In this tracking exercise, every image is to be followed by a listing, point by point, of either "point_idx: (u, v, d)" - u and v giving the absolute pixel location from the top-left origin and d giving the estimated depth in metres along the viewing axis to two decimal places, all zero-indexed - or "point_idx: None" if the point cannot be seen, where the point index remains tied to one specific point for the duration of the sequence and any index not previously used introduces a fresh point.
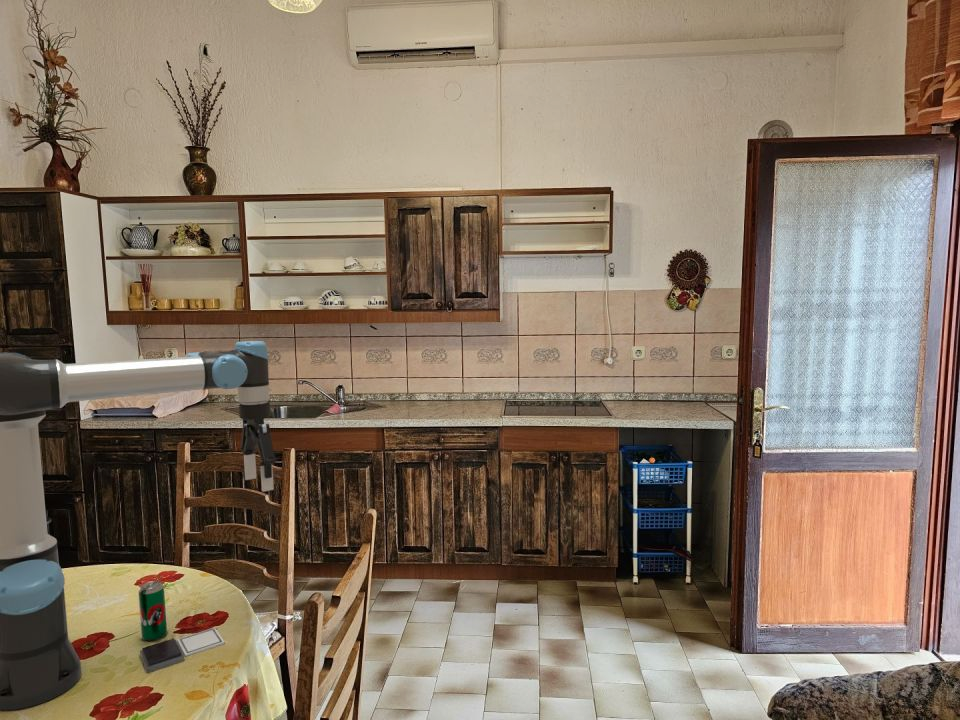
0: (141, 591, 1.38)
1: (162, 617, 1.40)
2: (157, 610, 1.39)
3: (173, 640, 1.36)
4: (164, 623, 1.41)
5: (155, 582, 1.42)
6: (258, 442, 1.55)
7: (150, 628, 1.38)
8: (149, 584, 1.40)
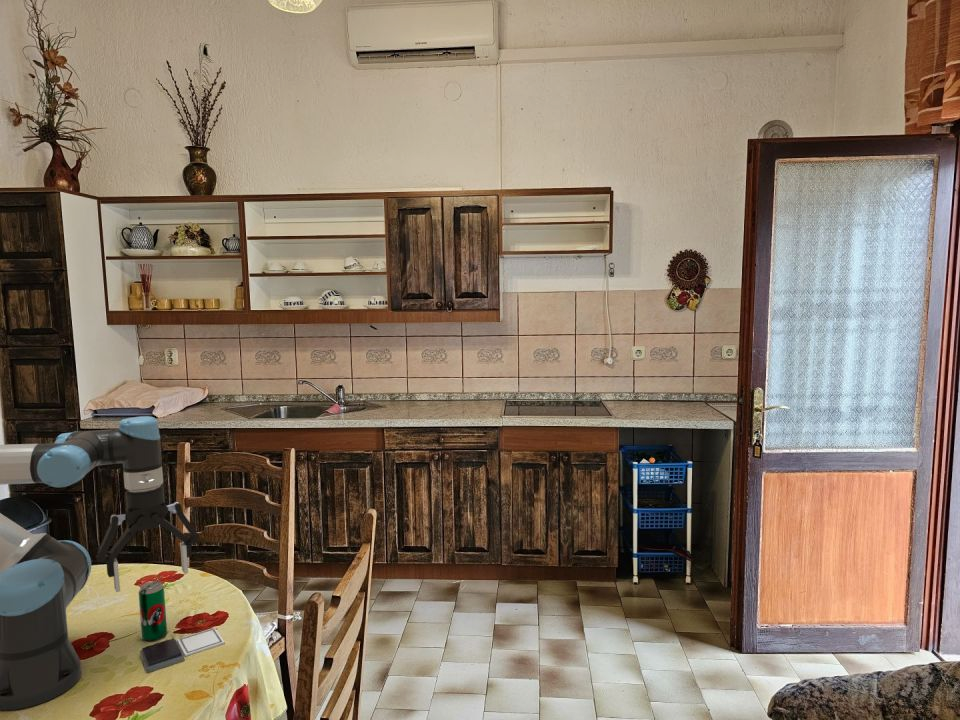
0: (141, 591, 1.38)
1: (161, 617, 1.40)
2: (157, 610, 1.39)
3: (173, 640, 1.36)
4: (164, 623, 1.41)
5: (155, 582, 1.42)
6: (123, 533, 1.37)
7: (150, 628, 1.38)
8: (149, 584, 1.40)
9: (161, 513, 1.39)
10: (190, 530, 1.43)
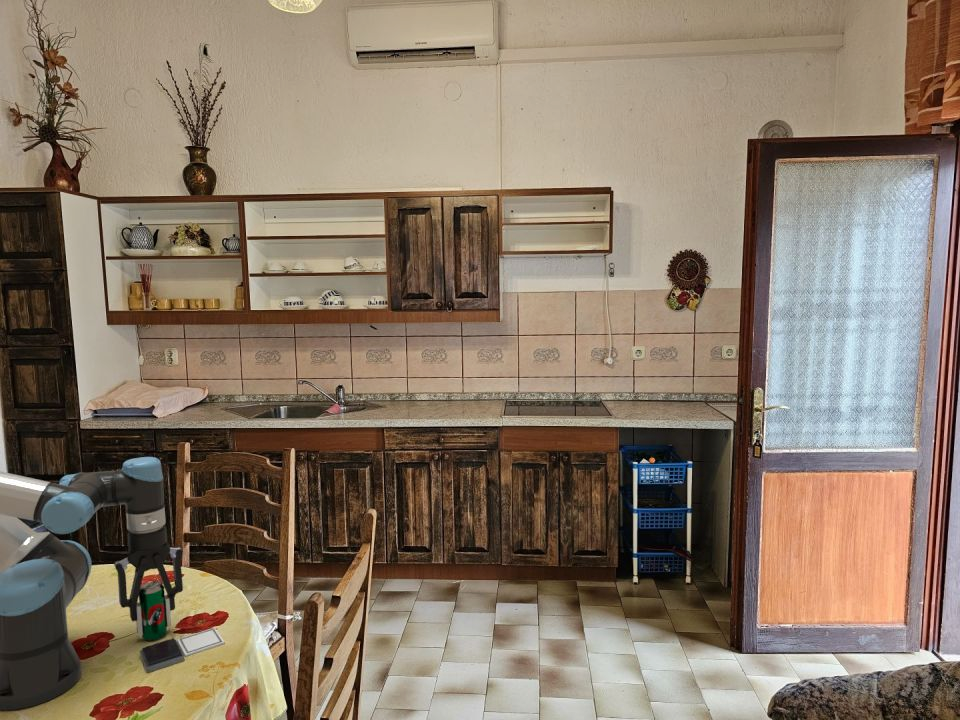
0: (141, 591, 1.38)
1: (162, 617, 1.40)
2: (157, 610, 1.39)
3: (173, 640, 1.36)
4: (164, 623, 1.41)
5: (155, 582, 1.42)
6: (134, 576, 1.39)
7: (150, 628, 1.38)
8: (149, 584, 1.40)
9: (162, 553, 1.40)
10: (178, 580, 1.42)
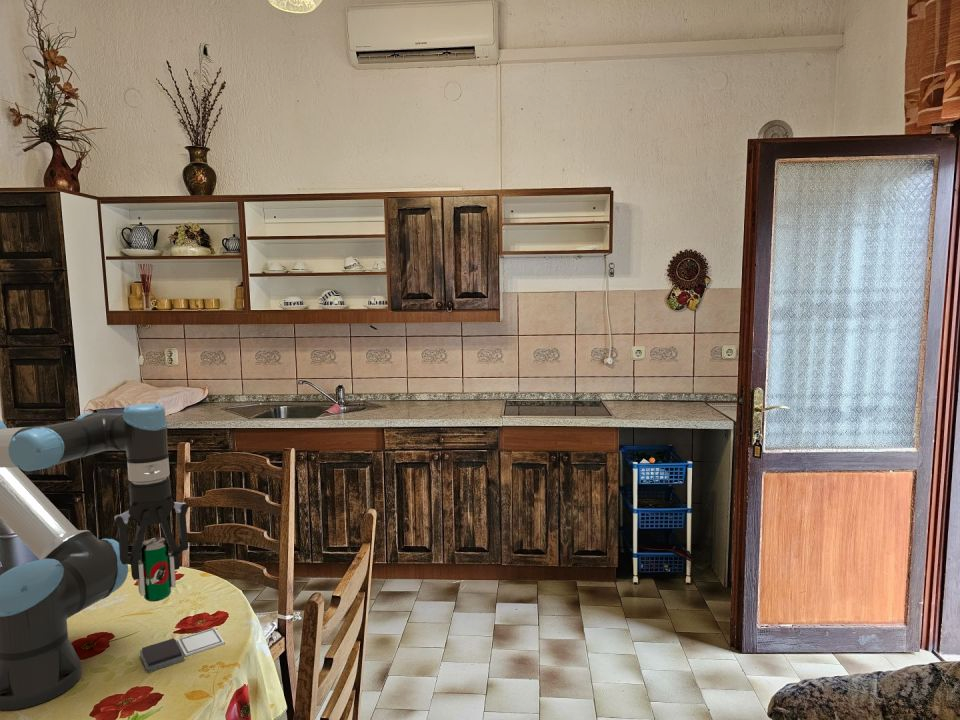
0: (143, 547, 1.28)
1: (165, 576, 1.30)
2: (161, 568, 1.29)
3: (173, 640, 1.36)
4: (168, 583, 1.30)
5: (158, 539, 1.31)
6: (136, 531, 1.28)
7: (153, 588, 1.28)
8: (152, 541, 1.30)
9: (166, 507, 1.30)
10: (183, 537, 1.32)
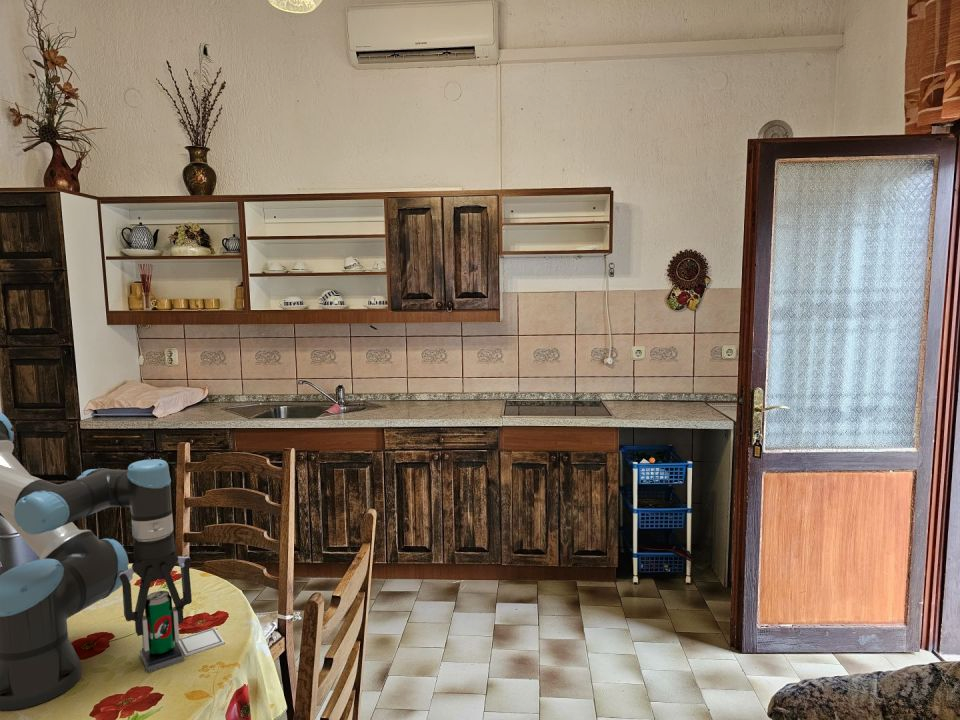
0: (147, 602, 1.29)
1: (169, 629, 1.31)
2: (164, 622, 1.30)
3: None
4: (172, 636, 1.31)
5: (162, 592, 1.32)
6: (140, 587, 1.30)
7: (156, 642, 1.29)
8: (156, 594, 1.31)
9: (170, 562, 1.31)
10: (186, 591, 1.33)
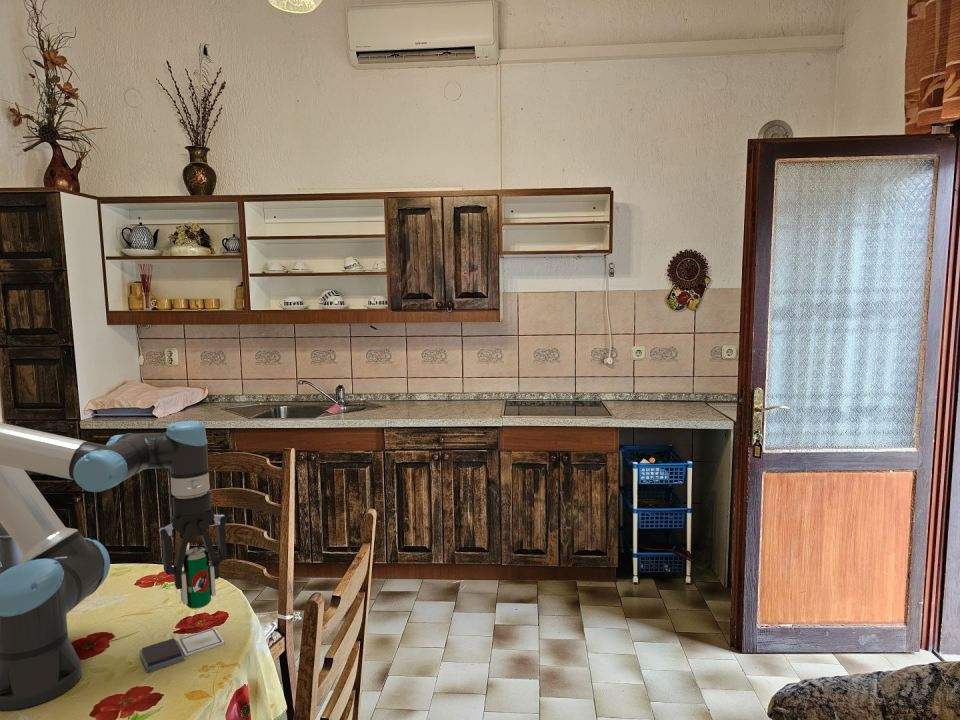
0: (186, 557, 1.34)
1: (206, 584, 1.36)
2: (202, 576, 1.35)
3: (173, 640, 1.36)
4: (209, 590, 1.37)
5: (199, 549, 1.38)
6: (178, 543, 1.35)
7: (195, 596, 1.34)
8: (193, 550, 1.36)
9: (207, 519, 1.36)
10: (222, 548, 1.38)
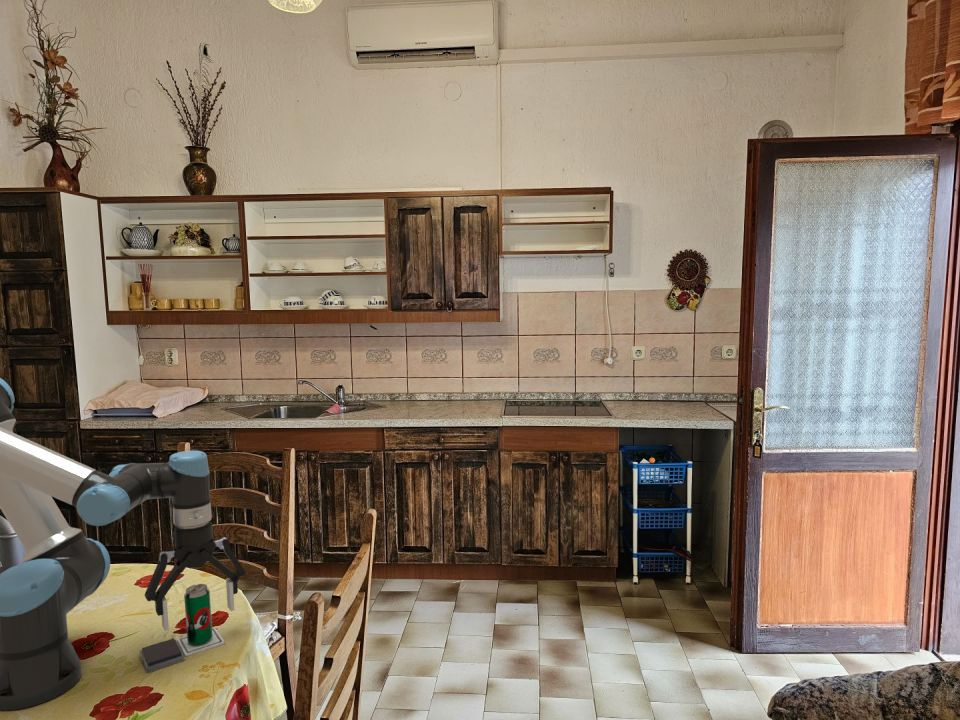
0: (187, 595, 1.35)
1: (208, 621, 1.37)
2: (203, 614, 1.36)
3: (173, 640, 1.36)
4: (210, 627, 1.37)
5: (200, 585, 1.38)
6: (172, 570, 1.34)
7: (196, 633, 1.35)
8: (194, 587, 1.37)
9: (209, 549, 1.37)
10: (237, 566, 1.41)
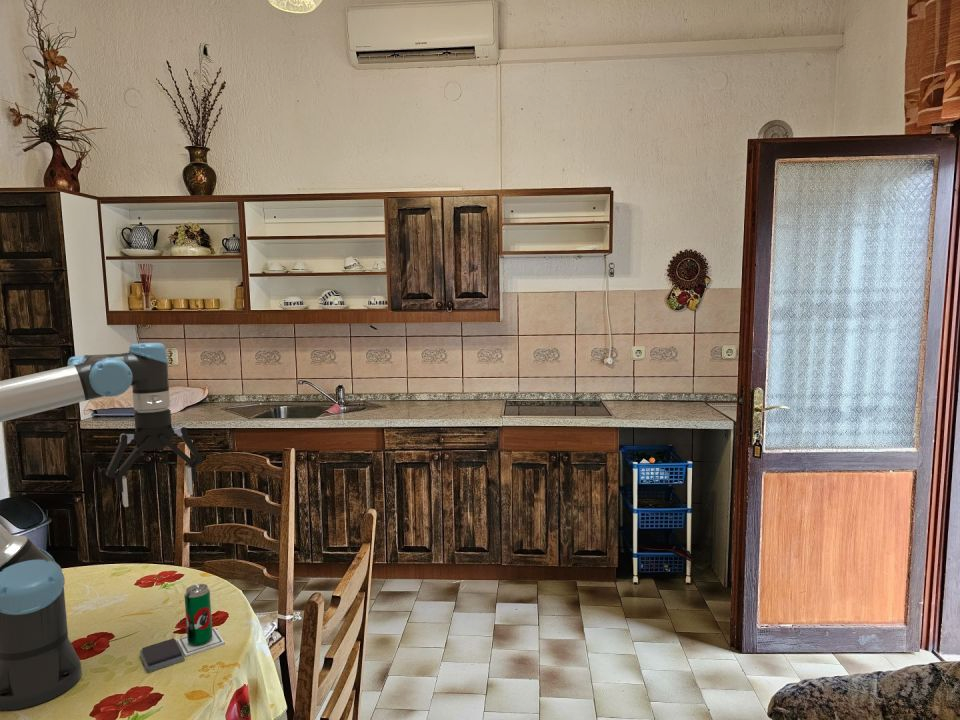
0: (187, 594, 1.35)
1: (208, 621, 1.37)
2: (203, 613, 1.36)
3: (173, 640, 1.36)
4: (210, 627, 1.37)
5: (200, 585, 1.38)
6: (132, 452, 1.44)
7: (196, 633, 1.35)
8: (195, 587, 1.37)
9: (168, 435, 1.47)
10: (195, 453, 1.50)
